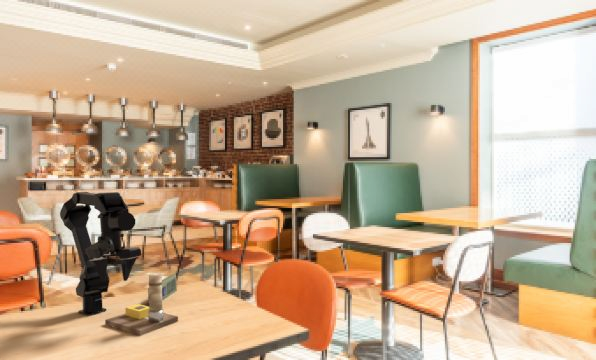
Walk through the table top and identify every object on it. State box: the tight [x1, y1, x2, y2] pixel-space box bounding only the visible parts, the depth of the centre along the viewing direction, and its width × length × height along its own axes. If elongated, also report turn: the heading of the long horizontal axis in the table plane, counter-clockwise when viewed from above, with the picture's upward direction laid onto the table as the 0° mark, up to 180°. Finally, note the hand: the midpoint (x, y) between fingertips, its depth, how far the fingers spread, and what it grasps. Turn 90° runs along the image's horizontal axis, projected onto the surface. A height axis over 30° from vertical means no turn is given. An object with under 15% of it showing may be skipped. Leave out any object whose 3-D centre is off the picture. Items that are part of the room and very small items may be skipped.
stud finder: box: [124, 303, 149, 319], centre depth 137 cm, size 7×4×3 cm, turn 57°
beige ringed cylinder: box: [148, 273, 164, 323], centre depth 132 cm, size 4×4×14 cm
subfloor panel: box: [104, 312, 179, 336], centre depth 134 cm, size 17×14×2 cm
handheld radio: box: [143, 274, 178, 307], centre depth 159 cm, size 7×3×25 cm
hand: (114, 281), depth 136 cm, fingers open, 9 cm apart
